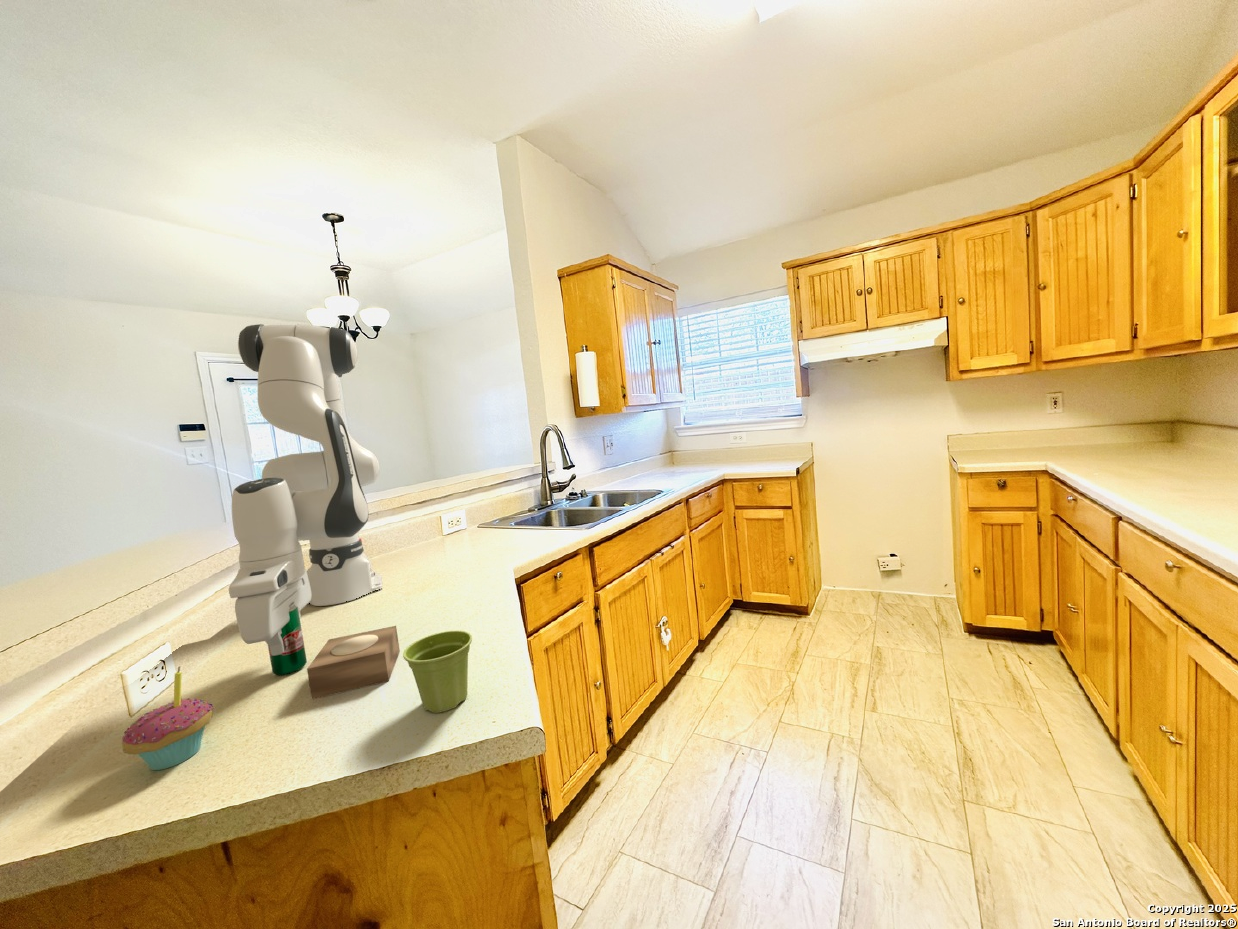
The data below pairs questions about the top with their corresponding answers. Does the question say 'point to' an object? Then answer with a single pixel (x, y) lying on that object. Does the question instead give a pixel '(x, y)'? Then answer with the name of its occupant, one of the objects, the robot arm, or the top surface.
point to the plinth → (354, 662)
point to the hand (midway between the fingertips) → (286, 645)
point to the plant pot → (440, 668)
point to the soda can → (290, 647)
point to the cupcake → (169, 731)
